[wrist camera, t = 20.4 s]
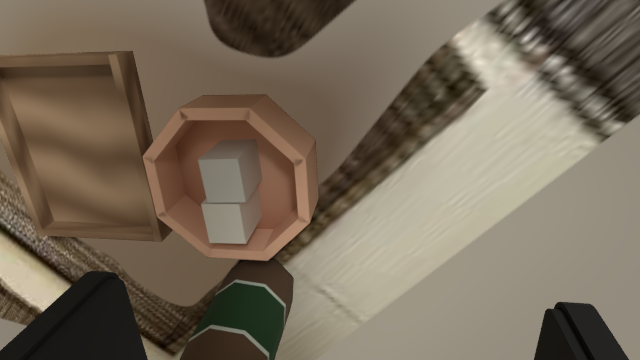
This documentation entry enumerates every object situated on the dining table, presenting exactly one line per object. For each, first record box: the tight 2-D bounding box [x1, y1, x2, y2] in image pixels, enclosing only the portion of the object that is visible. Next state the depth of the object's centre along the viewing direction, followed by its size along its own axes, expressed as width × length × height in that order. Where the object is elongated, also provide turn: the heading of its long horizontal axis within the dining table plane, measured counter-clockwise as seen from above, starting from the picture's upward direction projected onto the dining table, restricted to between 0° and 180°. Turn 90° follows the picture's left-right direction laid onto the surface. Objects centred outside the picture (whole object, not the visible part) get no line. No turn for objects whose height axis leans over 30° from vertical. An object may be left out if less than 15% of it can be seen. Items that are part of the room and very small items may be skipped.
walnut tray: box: [0, 51, 173, 242], centre depth 41 cm, size 19×15×2 cm
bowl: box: [143, 95, 319, 261], centre depth 38 cm, size 15×15×5 cm
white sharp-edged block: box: [201, 187, 262, 244], centre depth 38 cm, size 4×4×5 cm
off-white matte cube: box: [198, 139, 262, 203], centre depth 36 cm, size 4×4×5 cm
